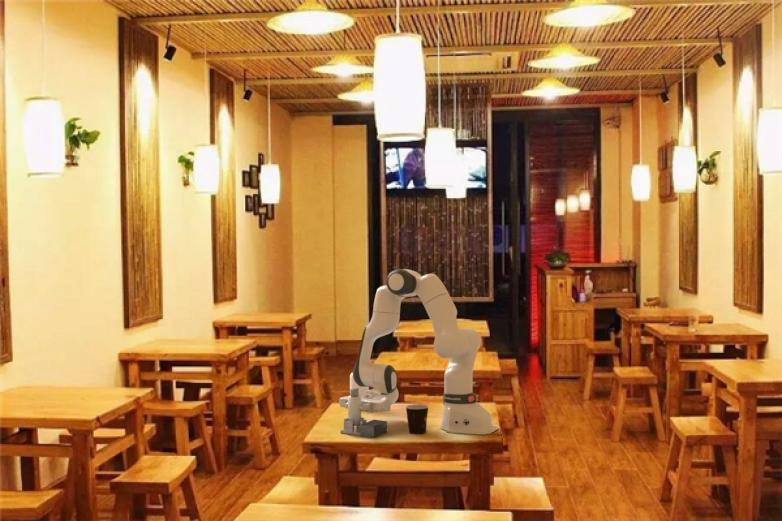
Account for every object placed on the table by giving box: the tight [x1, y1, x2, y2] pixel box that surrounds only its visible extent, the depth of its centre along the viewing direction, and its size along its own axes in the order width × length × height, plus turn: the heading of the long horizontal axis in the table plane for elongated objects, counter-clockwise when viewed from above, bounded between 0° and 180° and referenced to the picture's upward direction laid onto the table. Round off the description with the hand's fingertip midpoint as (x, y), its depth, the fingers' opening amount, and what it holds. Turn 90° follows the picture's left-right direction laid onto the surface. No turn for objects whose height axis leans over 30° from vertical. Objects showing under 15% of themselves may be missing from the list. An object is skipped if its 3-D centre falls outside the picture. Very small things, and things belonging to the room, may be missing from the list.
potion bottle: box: [349, 372, 370, 396], centre depth 388 cm, size 8×8×18 cm
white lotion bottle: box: [347, 388, 362, 427], centre depth 341 cm, size 5×5×14 cm
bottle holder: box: [340, 416, 388, 439], centre depth 339 cm, size 16×10×5 cm, turn 60°
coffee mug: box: [405, 404, 429, 435], centre depth 338 cm, size 12×9×10 cm
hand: (353, 407), depth 340 cm, fingers closed on white lotion bottle, 5 cm apart
